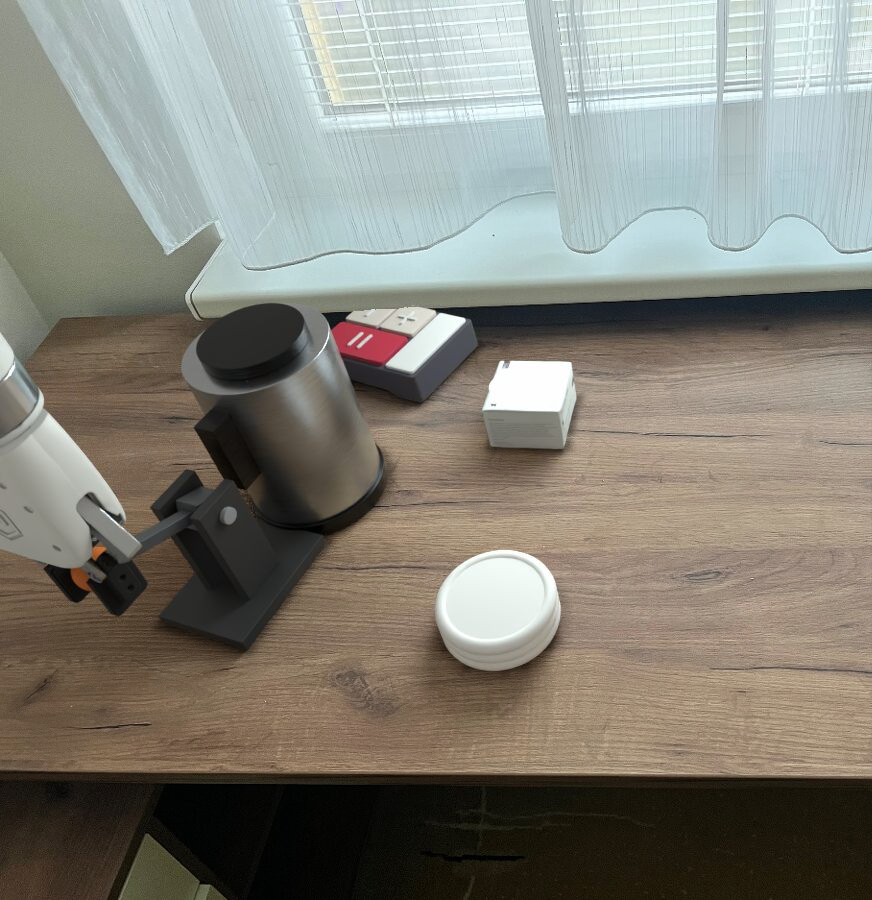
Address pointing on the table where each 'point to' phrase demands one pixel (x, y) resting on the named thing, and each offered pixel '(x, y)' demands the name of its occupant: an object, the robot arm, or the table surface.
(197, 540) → the switch base
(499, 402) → the small box
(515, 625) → the white jar lid
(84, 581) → the switch lever
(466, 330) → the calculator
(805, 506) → the table surface
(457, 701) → the table surface
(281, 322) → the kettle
